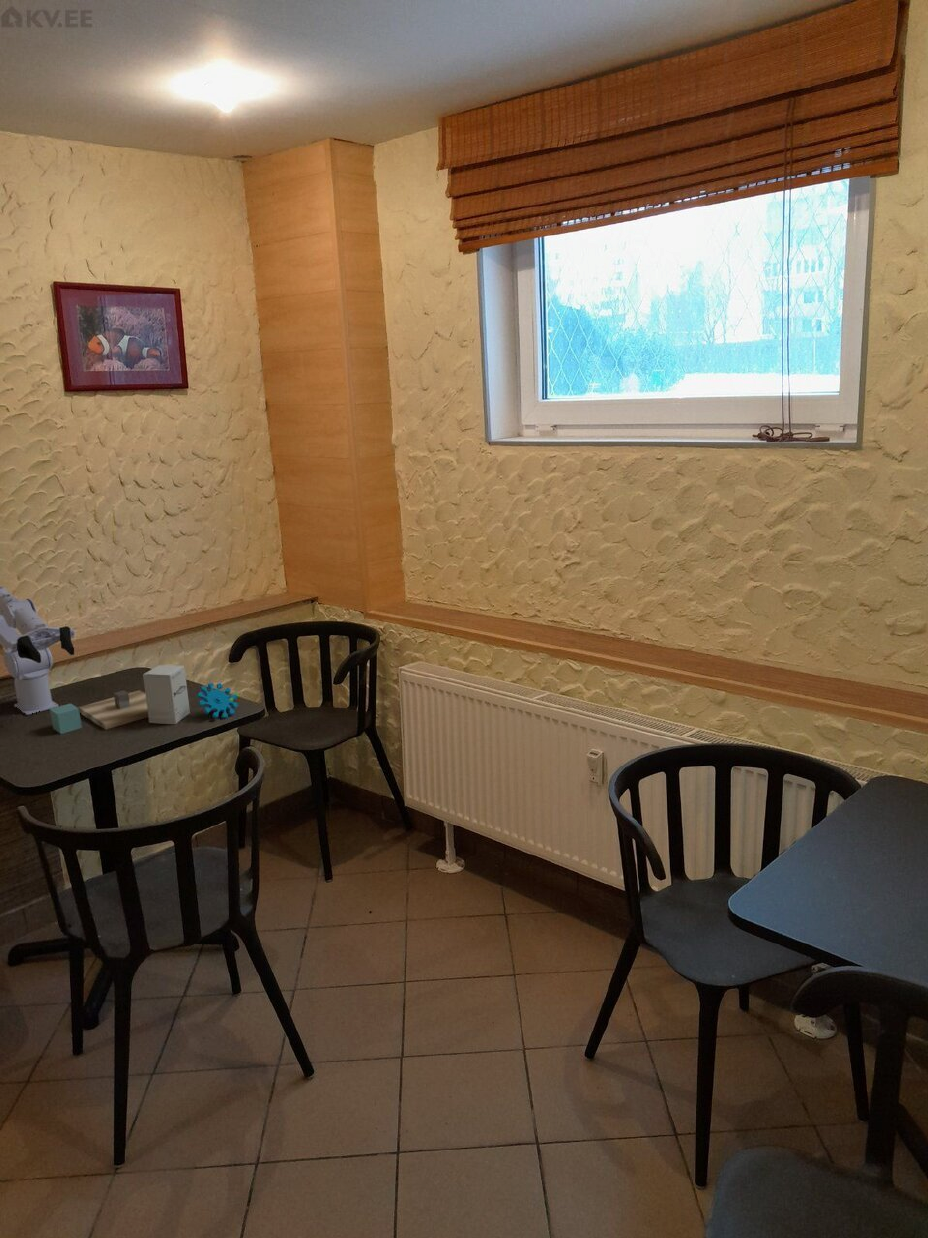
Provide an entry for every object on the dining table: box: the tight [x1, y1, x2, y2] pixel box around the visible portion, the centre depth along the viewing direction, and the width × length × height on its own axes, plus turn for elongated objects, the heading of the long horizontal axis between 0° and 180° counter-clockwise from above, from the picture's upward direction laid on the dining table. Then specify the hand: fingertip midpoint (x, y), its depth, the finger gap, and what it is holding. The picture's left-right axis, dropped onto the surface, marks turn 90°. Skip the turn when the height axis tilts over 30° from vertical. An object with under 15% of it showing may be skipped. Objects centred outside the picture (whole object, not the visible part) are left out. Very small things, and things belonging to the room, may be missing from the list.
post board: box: [77, 690, 149, 730], centre depth 234 cm, size 16×16×5 cm
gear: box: [196, 682, 240, 719], centre depth 231 cm, size 11×6×10 cm
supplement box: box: [142, 664, 191, 725], centre depth 227 cm, size 7×7×13 cm
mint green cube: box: [49, 703, 83, 735], centre depth 224 cm, size 5×5×5 cm
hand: (56, 655), depth 219 cm, fingers open, 7 cm apart
